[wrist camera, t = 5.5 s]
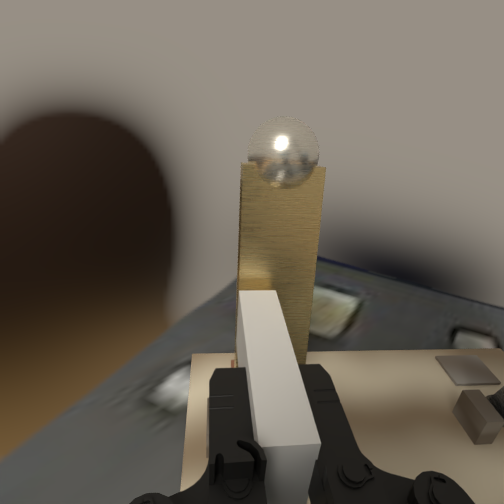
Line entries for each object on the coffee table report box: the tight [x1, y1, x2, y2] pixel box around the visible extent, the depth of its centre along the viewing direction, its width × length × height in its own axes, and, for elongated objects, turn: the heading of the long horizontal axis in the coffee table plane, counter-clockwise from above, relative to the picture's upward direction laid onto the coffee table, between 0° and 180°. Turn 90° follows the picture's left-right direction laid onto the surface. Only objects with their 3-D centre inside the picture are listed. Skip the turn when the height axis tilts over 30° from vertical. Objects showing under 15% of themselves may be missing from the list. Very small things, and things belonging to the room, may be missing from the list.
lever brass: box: [234, 117, 326, 368], centre depth 16 cm, size 3×3×15 cm
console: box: [180, 348, 504, 504], centre depth 19 cm, size 12×22×4 cm, turn 95°
